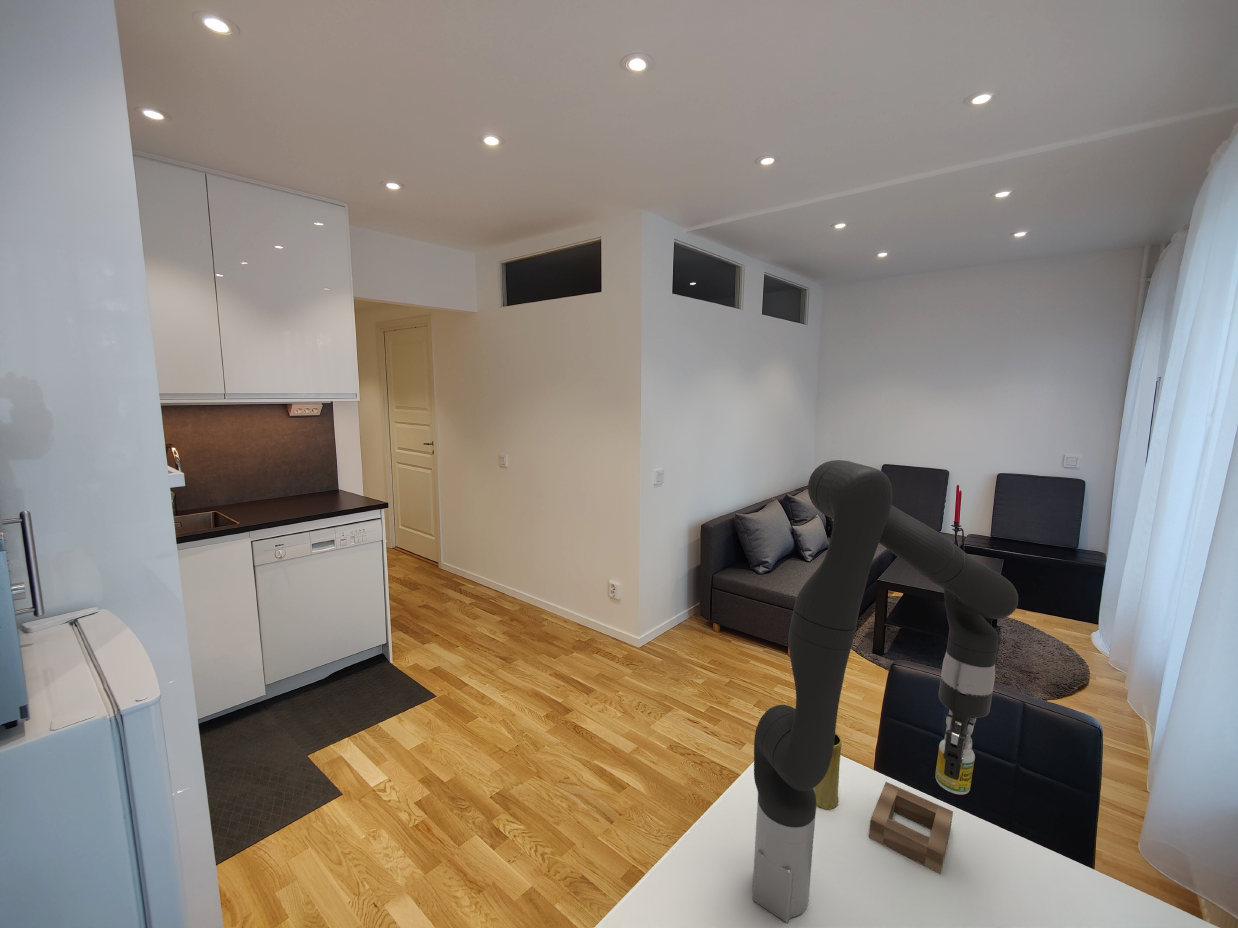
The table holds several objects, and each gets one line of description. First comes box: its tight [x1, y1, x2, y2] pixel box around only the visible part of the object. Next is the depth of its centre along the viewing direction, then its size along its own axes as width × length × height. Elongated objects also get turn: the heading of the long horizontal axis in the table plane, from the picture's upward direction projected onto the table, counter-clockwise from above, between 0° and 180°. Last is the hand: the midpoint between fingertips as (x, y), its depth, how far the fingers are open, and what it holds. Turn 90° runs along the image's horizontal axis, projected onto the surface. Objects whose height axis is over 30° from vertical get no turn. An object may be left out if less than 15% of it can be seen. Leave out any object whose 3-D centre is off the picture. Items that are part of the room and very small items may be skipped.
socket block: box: [868, 781, 954, 875], centre depth 102 cm, size 12×12×4 cm
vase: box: [813, 732, 843, 810], centre depth 110 cm, size 6×6×14 cm
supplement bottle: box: [934, 729, 976, 796], centre depth 94 cm, size 5×5×10 cm
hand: (954, 766), depth 94 cm, fingers closed on supplement bottle, 5 cm apart
